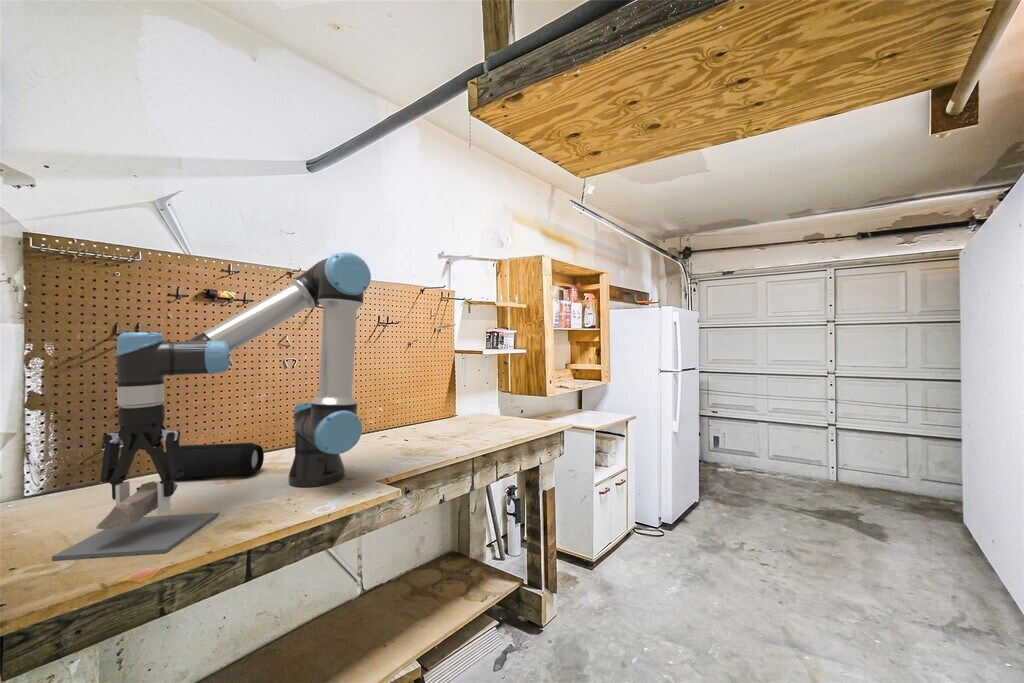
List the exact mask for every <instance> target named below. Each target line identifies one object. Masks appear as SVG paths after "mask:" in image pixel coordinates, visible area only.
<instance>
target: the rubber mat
mask: <svg viewBox="0 0 1024 683" xmlns="http://www.w3.org/2000/svg"><path fill="white" fill-rule="evenodd" d="M218 515H219V516H220V512H202V513H186V514H183V513H182V514H169V515H151V516H149V515H148V516H143V518H142V519H141V520H139V521H138V522H135V523H134V524H132V525H130V526H124V527H118V526H116V527H114V528H111V529H101V530H100V531H98V532H97V533H95V534H92V535H90V536H88V537H86V538H85V539H82V540H81V541H79V542H76V543H74V544H73V545H71V546H69V547H67V548H65V549H64V550H61V551H59V552H58V553H56V554H54V555H52V556H51V561H52V562H53V561H65V560H66V561H68V560H69V561H70V560H80V559H84V560H85V559H92V558H91V557H100V558H103V557H102V556H115V557H119V556H118V555H130V556H142V555H143V554H145V555H156V554H157V555H159V554H160V553H161V554H167V553H168V552H170V551H171V550H172V549H174V548H175V547H176V545H177V544H178V543H180V542H181V541H182V540H184V539H185V538H187V537H188V538H190V537H191V536H192V535H193V533H194V532H195V533H197V532H198V531H200V530H201V529H202V528H204V527H205V526H207V525H208V524H209V523H211V522H212V521H214V520H215V519H216V518H215V517H217V516H218ZM219 516H218V517H219ZM218 517H217V518H218ZM214 518H215V519H214ZM213 519H214V520H213ZM211 520H212V521H211ZM210 521H211V522H210ZM207 523H208V524H207ZM206 524H207V525H206ZM204 525H205V526H204ZM203 526H204V527H203ZM201 527H202V528H201ZM200 528H201V529H200ZM197 530H198V531H197ZM196 531H197V532H196ZM195 533H194V534H195ZM191 534H192V535H191ZM190 535H191V536H190ZM189 536H190V537H189ZM188 538H187V539H188ZM185 540H186V539H185ZM185 540H184V541H185ZM182 542H183V541H182ZM182 542H181V543H182ZM181 543H180V544H181ZM178 545H179V544H178ZM178 545H177V546H178ZM174 546H175V547H174ZM173 547H174V548H173ZM170 549H171V550H170ZM169 550H170V551H169ZM167 551H168V552H167ZM166 552H167V553H166ZM136 554H138V555H136ZM139 554H141V555H139ZM143 556H144V555H143Z"/></svg>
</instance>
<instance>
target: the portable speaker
mask: <svg viewBox="0 0 1024 683" xmlns="http://www.w3.org/2000/svg"><path fill="white" fill-rule="evenodd" d="M179 446H180V451H181V457H182V463H183V469H184V474H183V475H182V476H180V477H178V478H175V479H174V480H178V481H179V480H196V478H201V479H216V478H217V479H220V478H219V477H222V478H234V477H235V478H238V477H239V476H242V477H249V476H252V475H254V474H257V473H258V472H260V470H261V469H262V467H263V464H264V459H265V453H264V449H263V447H262V446H261V445H259V444H256V443H253V442H237V443H236V442H233V443H214V444H210V443H207V444H188V445H187V444H185V445H182V444H181V445H179ZM164 452H165V454H166V456H167V453H166V451H164ZM239 478H240V477H239Z"/></svg>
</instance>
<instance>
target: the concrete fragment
mask: <svg viewBox="0 0 1024 683" xmlns="http://www.w3.org/2000/svg"><path fill="white" fill-rule="evenodd" d="M157 483H158V482H156V481H154V480H153V481H149V482H146V483H143V484H141V485H140V486H139V487H137V488H136V492H135V493H133V494H132V495H130V496H129V497H128V498H127V499H125V500H124V501H123V502H120V503H118V504H117V505H116V504H115V506H114V507H113V509H112V510H111V511H110V512H109V513H108V514H107V515H106V516H105V517H104V518H103V519H102V520H101V521H100V522H99V523H98V524H97V525H96V530H104V529H111V528H114V527H116V526H118V527H124V526H130V525H132V524H134V523H135V522H138V521H139V520H141V519H142V518H143V517H146V516H147V515H148V514H150V513H151V512H153V511H156V510H158V489H157ZM178 486H179V485H178V484H177V483H175V482H174V492H175V491H176V490H177V488H178ZM170 498H172V495H171V496H170Z"/></svg>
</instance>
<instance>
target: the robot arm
mask: <svg viewBox="0 0 1024 683" xmlns="http://www.w3.org/2000/svg"><path fill="white" fill-rule="evenodd" d="M371 279H372V274H371V270H370V267H369V266H368V263H366V261H365V260H364V259H363V258H362V257H360V256H359V255H357V254H354V253H353V252H339V253H337V252H336V253H334V254H332V255H330V256H329V257H327V258H324V259H322V260H320V261H318V262H316V263H315V264H314V265H312V266H310V267H309V268H308V269H307V270H306V271H304V272H303V273H301V274H300V275H298V276H296V277H295V278H293V279H291V282H290V285H288V286H286V287H284V288H282V289H280V290H279V291H277V292H275V293H273V294H271V295H270V296H268V297H266V298H264V299H262V300H260V301H258V302H256V303H255V304H253V305H250V306H249V307H247V308H245V309H244V310H241V311H240V312H238V313H236V314H234V315H233V316H230V317H228V318H227V319H225V320H223V321H221V322H220V323H218V324H216V325H214V326H212V327H210V328H208V329H207V330H205V331H203V332H202V333H200V334H198V335H196V336H193V337H191V339H188V340H186V341H183V340H181V341H169V340H165V338H164V336H163V333H161V332H147V331H145V332H144V331H141V332H139V331H137V332H134V331H131V332H122V333H121V334H119V335H118V336H117V339H116V354H115V355H116V356H115V358H116V377H117V378H116V379H117V380H116V382H117V387H116V388H117V389H116V392H117V393H116V397H117V403H116V404H117V405H118V406H120V407H119V408H118V409H117V424H118V425H119V430H118V432H112V433H108V434H103V436H102V442H103V445H104V448H103V449H104V450H103V456H102V464H101V465H102V466H101V472H100V479H99V480H100V482H101V483H108V484H110V485H111V498H112V500H113V501H114V500H115V506H116V505H117V504H118V503H120V502H123V501H124V500H125V499H127V498H128V497H129V496H131V495H130V494H131V491H130V480H128V479H129V478H128V477H127V476H128V474H129V472H130V469H131V465H132V463H133V461H134V458H135V456H136V454H137V452H138V451H139V450H143V451H145V452H146V453H147V455H149V457H150V459H151V460H152V462H153V466H154V467H155V469H156V472H157V474H158V476H159V478H160V480H161V481H159V482H157V489H158V508H157V515H163V514H165V513H166V512H169V511H170V510H171V509H172V507H171V506H172V505H171V497H172V496H173V495H174V493H175V491H174V483H175V480H176V479H175V478H178V477H180V476H182V475H183V474H184V469H183V463H182V457H181V451H180V446H181V445H180V438H181V437H180V436H181V431H180V430H173V431H172V430H167V429H166V427H165V426H164V422H165V416H166V414H165V405H164V404H162V403H163V402H164V401H165V385H164V384H165V383H164V381H165V380H164V378H165V376H178V375H179V376H184V375H203V374H204V375H205V374H207V375H208V374H209V375H213V374H216V373H217V374H220V373H225V372H227V371H228V370H229V367H230V353H232V352H233V351H235V350H237V349H238V348H240V347H241V346H243V345H245V344H247V343H248V342H250V341H252V340H253V339H256V338H258V337H259V336H261V335H262V334H264V333H266V332H267V331H270V330H271V329H273V328H275V327H276V326H278V325H279V324H281V323H283V322H285V321H286V320H287V319H290V318H292V317H293V316H295V315H297V314H298V313H300V312H301V311H303V310H305V309H307V308H310V309H314V308H315V307H317V306H319V305H321V306H322V309H323V310H322V311H323V314H322V325H321V326H322V328H321V342H320V343H321V344H320V362H319V373H318V374H319V376H318V392H317V397H315V398H314V399H312V401H307V402H300V403H296V404H295V405H294V409H293V410H294V411H293V422H294V423H293V426H294V429H293V430H294V457H293V461H292V463H291V464H292V465H291V468H290V470H289V472H288V473H289V474H288V484H289V485H290V486H293V487H298V488H308V487H309V488H311V487H318V486H323V485H324V486H325V485H330V484H333V483H335V482H338V481H340V480H343V478H344V477H345V476H346V468H345V465H344V462H343V460H342V457H341V454H344V453H346V452H348V451H350V450H351V449H353V448H354V447H355V446H356V445H357V444H358V442H359V441H360V439H361V437H362V433H363V425H362V421H361V419H360V417H359V416H358V401H357V400H356V399H355V398H354V397H353V385H354V384H353V382H354V379H353V378H354V366H355V365H354V362H355V350H356V349H355V348H356V347H355V346H356V332H357V316H358V315H357V313H358V310H359V309H360V308H361V307H362V306H363V305H364V295H365V294H364V292H366V290H367V289H368V288H369V286H370V284H371ZM162 439H163V441H165V443H164V444H165V446H164V444H163V441H162ZM121 441H122V442H123V444H122V447H121ZM120 447H121V449H120ZM164 449H165V450H164ZM165 452H166V453H167V456H166V454H165ZM119 456H120V457H119ZM170 496H171V497H170Z"/></svg>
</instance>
